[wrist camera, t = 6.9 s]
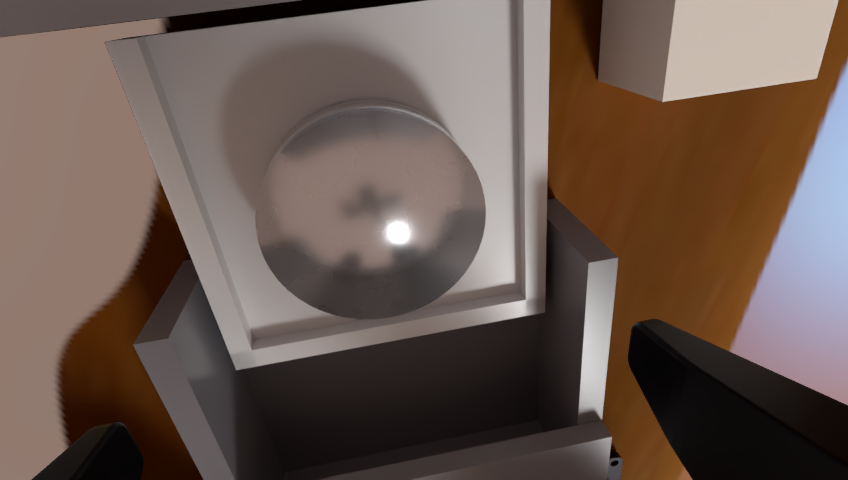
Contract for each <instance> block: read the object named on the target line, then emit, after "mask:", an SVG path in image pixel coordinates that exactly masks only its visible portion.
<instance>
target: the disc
mask: <svg viewBox="0 0 848 480" xmlns="http://www.w3.org/2000/svg"><path fill="white" fill-rule="evenodd" d="M485 221H486V206H485V197H484V193H483V188H482V185H481V182H480V180H479V177H478V174H477V172H476V170H475V169H474V167H473V165H472V163H471V162H470V160H469V159H468V157H467V156H466V155H465V153H464V152H463V151H462V150H461V148H460V147H459V146H458V144H457V143H456V142H455V141H454V139H453V138H452V137H451V135H450V134H449V133H448V132H447V130H446V129H445V128H443V127H442V126H441V125H440V124H439V123H438V122H437V121H436V120H435V119H433V118H432V117H430V116H429V115H428V114H426V113H424V112H423V111H421V110H419V109H417V108H415V107H413V106H410V105H408V104H405V103H402V102H399V101H395V100H390V99H386V98H375V97H364V98H353V99H347V100H342V101H338V102H335V103H332V104H329V105H326V106H324V107H322V108H320V109H318V110H316V111H314V112H313V113H311V114H310V115H308V116H307V117H305V118H304V119H302V120H301V121H300V122H299V123H298V124H296V125H295V126H294V127H293V128H292V129H291V130H290V131H289V132H288V134H287V135H286V136H285V137H284V138H283V140H282V141H281V142H280V144H279V146H278V147H277V149H276V151H275V152H274V155H273V157H272V159H271V162H270V164H269V167H268V169H267V172H266V174H265V177H264V179H263V182H262V185H261V187H260V191H259V195H258V198H257V203H256V213H255V223H256V234H257V238H258V243H259V246H260V249H261V252H262V254H263V257H264V259H265V261H266V263H267V265H268V266H269V268H270V270H271V271H272V273H273V274H274V275H275V277H276V278H277V279H278V281H279V282H280V283H281V284H282V285H283V286H284V287H285V288H286V289H287V290H288V291H290V292H291V293H292V294H293V295H295V296H296V297H297V298H298V299H300V300H302V301H303V302H305V303H307V304H308V305H310V306H312V307H314V308H316V309H319V310H321V311H323V312H326V313H329V314H332V315H336V316H340V317H345V318H352V319H383V318H390V317H395V316H399V315H403V314H406V313H409V312H412V311H415V310H417V309H419V308H421V307H424V306H426V305H428V304H429V303H431V302H433V301H434V300H436V299H438V298H439V297H440V296H442V295H443V294H444V293H446V292H447V291H448V290H449V289H451V288H452V287H453V286H454V285H455V284H456V283H457V282H458V281H459V280H460V278H461V277H462V276H463V275H464V274H465V272H466V271H467V270H468V268H469V267H470V265H471V263H472V262H473V260H474V258H475V256H476V254H477V252H478V250H479V247H480V244H481V241H482V238H483V234H484V229H485Z"/></svg>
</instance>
